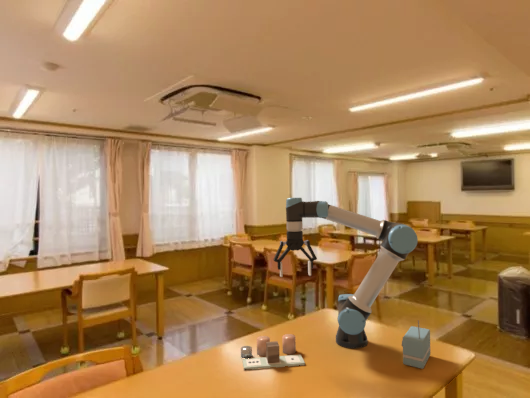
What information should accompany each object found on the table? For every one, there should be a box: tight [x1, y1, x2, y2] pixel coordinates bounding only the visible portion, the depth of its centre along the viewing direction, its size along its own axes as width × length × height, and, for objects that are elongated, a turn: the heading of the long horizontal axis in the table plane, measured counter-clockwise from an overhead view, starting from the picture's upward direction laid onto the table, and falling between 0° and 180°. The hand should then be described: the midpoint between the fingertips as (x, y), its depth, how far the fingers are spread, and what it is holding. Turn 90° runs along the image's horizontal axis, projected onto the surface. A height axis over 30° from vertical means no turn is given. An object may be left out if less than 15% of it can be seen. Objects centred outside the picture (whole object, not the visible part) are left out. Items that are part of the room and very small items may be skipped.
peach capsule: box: [282, 333, 297, 355], centre depth 160 cm, size 6×6×7 cm
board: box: [242, 354, 306, 370], centre depth 149 cm, size 26×8×1 cm, turn 97°
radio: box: [401, 320, 431, 369], centre depth 149 cm, size 16×9×20 cm, turn 145°
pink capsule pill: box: [256, 335, 271, 357], centre depth 159 cm, size 6×6×7 cm
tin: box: [240, 345, 253, 359], centre depth 156 cm, size 5×5×4 cm
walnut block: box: [265, 340, 280, 363], centre depth 150 cm, size 5×5×7 cm
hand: (295, 275), depth 162 cm, fingers open, 13 cm apart
